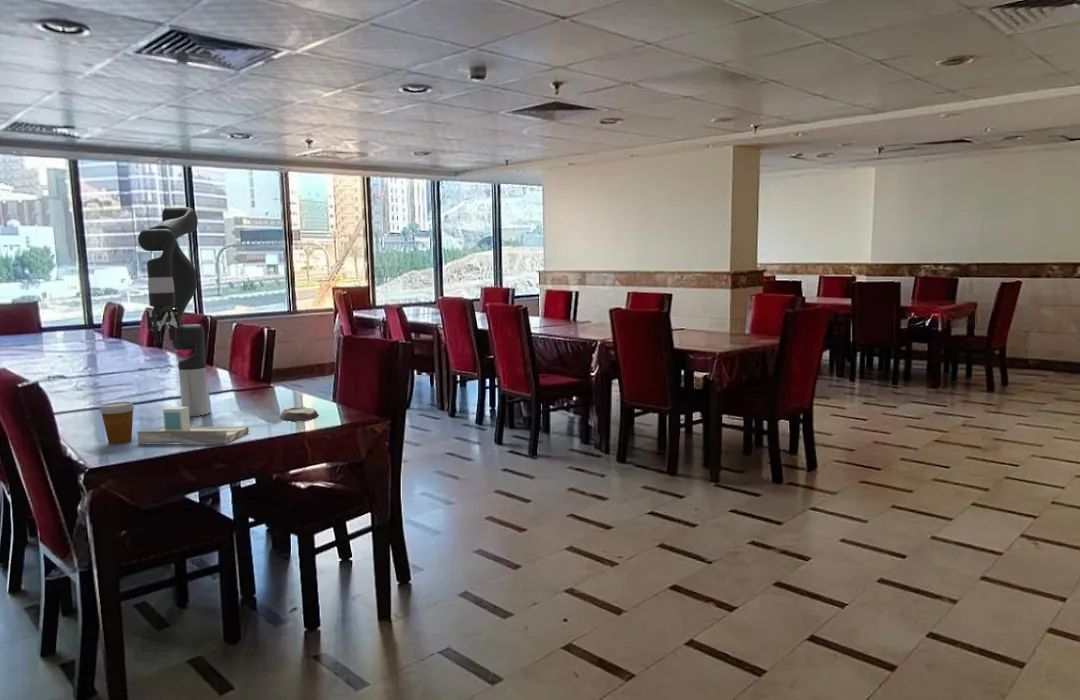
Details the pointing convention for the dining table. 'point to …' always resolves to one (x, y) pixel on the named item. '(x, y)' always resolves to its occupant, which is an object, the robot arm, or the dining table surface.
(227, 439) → the cream rectangular tray
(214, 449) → the dining table surface
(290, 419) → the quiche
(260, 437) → the dining table surface
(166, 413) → the carton
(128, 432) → the disposable coffee cup
